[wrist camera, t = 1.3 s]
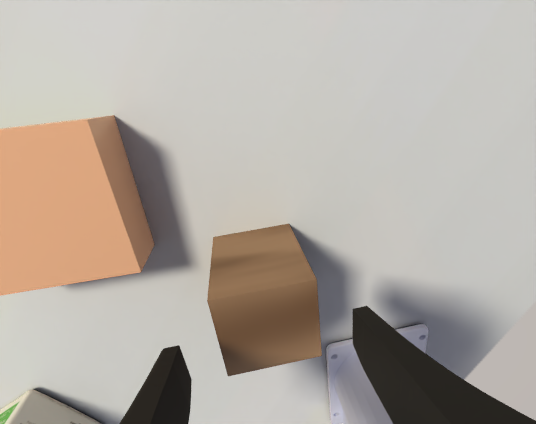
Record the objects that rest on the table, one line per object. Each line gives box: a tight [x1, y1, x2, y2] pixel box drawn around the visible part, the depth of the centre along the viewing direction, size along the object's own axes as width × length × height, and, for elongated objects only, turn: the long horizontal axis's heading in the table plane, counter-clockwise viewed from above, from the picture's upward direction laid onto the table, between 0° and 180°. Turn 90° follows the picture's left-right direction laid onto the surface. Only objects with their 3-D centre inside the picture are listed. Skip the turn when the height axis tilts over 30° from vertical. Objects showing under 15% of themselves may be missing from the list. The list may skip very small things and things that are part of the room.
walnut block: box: [207, 224, 322, 376], centre depth 14 cm, size 4×4×6 cm
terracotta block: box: [0, 115, 155, 295], centre depth 13 cm, size 7×7×3 cm
